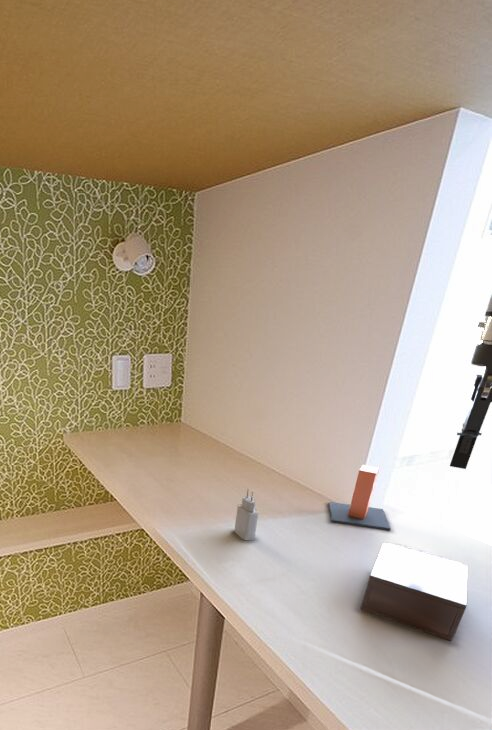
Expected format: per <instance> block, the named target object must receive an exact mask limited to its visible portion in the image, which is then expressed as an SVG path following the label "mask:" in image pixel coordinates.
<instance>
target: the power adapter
mask: <svg viewBox="0 0 492 730" xmlns="http://www.w3.org/2000/svg"><path fill="white" fill-rule="evenodd" d="M249 490H250V489H249V488H247V490H246V491H247V492H246V495H243V496H242V499H241V503H239V504H237V506H236V507H237V508H236V516H235V523H234V533H235V534H236V535H238V537H240V538H241V539H242V540H244V541H253V540H255V538H256V533H257V532H256V531H257V525H258V518H259V511H258V509H256V503H257V500H255V499H254V498H253V497H254V491H251V496H249Z"/></svg>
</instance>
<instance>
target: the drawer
mask: <svg viewBox="0 0 492 730" xmlns="http://www.w3.org/2000/svg"><path fill="white" fill-rule="evenodd" d="M386 544H389V545H393V546H396V547H400V548H404V549H407V550H411V551H415V552H418V553H422V554H426V555H429V556H433V557H437V558H440V559H444V560H448V561H451V562H455V563H458V564H462V565H464V562H463V563H462V562H459V561H455V560H452V559H447V558H445V557H443V556H442V555H439V554H436V553H432V552H428V551H424V550H421V549H417V548H414V547H409V546H406V545H404V546H401V545H396V544H393V543H389V542H386Z"/></svg>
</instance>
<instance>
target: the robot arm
mask: <svg viewBox="0 0 492 730" xmlns="http://www.w3.org/2000/svg"><path fill="white" fill-rule="evenodd" d="M476 328H477V329H480V330H479V332H478V335H477V340H478V341H480V342H477V343H476V344H474V346H473V349H472V352H471V355H470V358H469V364H470V365H472V366H476V367H483V369H482V373H481V374H476V375H475V378H474V380H473V388H472V391H471V395H470V400H471V401H470V404H469V407H468V410H467V413H466V417H465V420H464V422H463V424H462V428H461V431H459V430H458V431H457V432H456V435H457V436H459V437H458V440H457V442H456V445H455V449H454V452H453V455H452V458H451V460H450V464H449V467H452V468H458V469H463V470H466V468H467V466H468V465H469V461H470V458H471V456H472V454H473V453H472V452H473V450H474V447H475V445H476V442H477V439H478V437H479V436H482V435H483V431H481V428H482V426H483V424H484V421H485V418H486V415H487V413H488V411H489V408H490V405H491V403H492V293H491V295H490V298H489V301H488V304H487V308H486V311H485V314H484V318H483V321H479V322H478V323H477V324H476Z"/></svg>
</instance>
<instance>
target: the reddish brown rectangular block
mask: <svg viewBox="0 0 492 730" xmlns="http://www.w3.org/2000/svg"><path fill="white" fill-rule="evenodd" d="M379 471H380V468H379V467H376V466H370V465H366V464H362V465H361V467H360V469H358V473H357V477H356V480H355V485H354V489H353V492H352V493H353V494H352V497H351V501H350V504H349V505H350V509H349V513H348V516H352V517H356V518H360V519H365V517H366V515H367V513H368V509H369V507H371V501H372V497H373V494H374V491H375V487H376V483H377V479H378V476H379Z"/></svg>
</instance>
